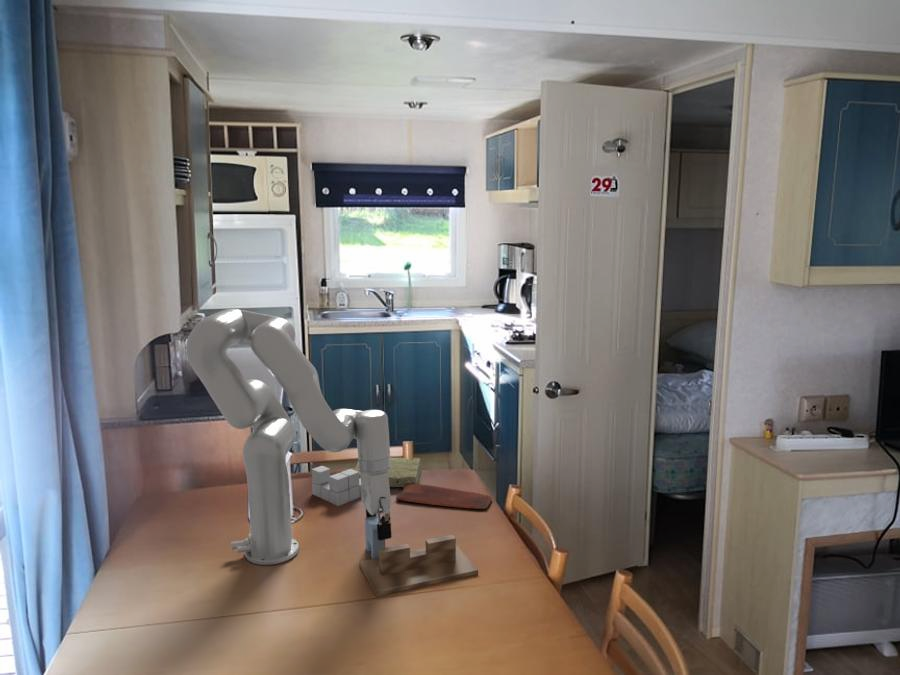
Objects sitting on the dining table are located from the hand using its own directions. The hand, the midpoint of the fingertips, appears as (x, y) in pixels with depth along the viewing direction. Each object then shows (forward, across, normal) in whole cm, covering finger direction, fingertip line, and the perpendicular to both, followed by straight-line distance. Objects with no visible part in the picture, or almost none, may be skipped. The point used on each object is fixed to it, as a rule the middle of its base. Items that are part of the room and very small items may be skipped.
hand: (378, 530), depth 164 cm
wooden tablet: (+6, -22, +25) cm, 34 cm away
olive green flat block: (+6, -44, +15) cm, 47 cm away
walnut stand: (+6, +10, +6) cm, 14 cm away
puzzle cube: (+6, -38, 0) cm, 39 cm away
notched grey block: (+6, 0, -1) cm, 6 cm away
